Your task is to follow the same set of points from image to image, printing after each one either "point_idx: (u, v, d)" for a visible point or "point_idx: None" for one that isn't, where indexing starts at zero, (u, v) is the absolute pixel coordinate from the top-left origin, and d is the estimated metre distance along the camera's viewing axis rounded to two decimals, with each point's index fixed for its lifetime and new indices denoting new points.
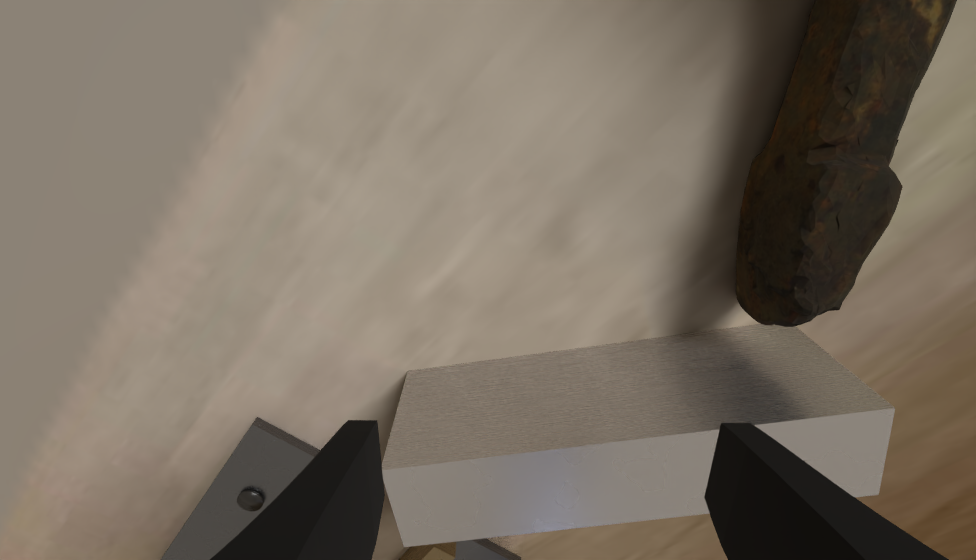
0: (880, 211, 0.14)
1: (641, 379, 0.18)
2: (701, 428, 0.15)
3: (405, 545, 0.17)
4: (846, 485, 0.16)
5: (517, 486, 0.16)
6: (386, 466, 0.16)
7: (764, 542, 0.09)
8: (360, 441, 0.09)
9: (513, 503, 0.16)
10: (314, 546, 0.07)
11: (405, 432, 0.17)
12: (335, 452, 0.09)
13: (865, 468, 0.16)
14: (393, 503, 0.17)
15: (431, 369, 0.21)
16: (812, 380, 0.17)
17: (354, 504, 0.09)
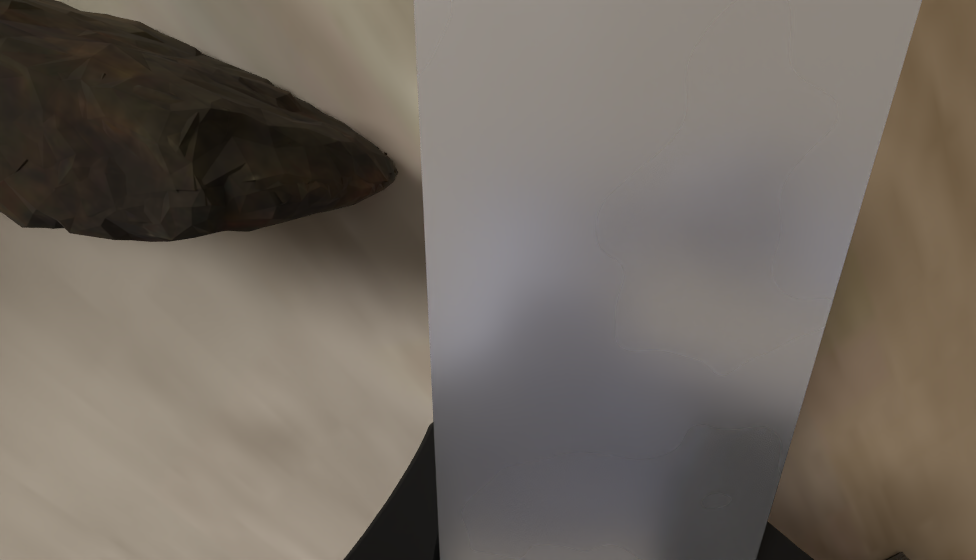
0: None
1: None
2: None
3: None
4: (798, 156, 0.04)
5: None
6: None
7: None
8: None
9: None
10: (438, 547, 0.07)
11: None
12: None
13: (732, 87, 0.04)
14: None
15: None
16: None
17: None
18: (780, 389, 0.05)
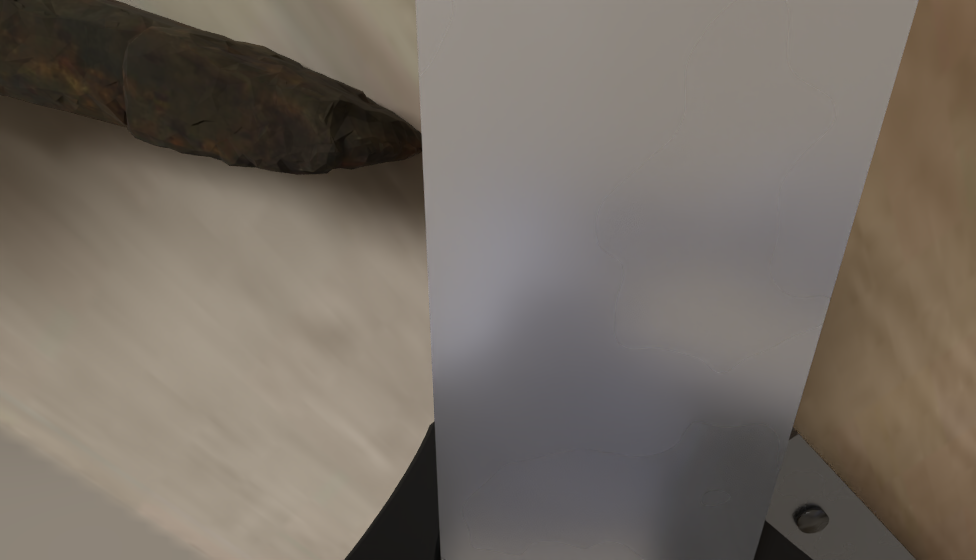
0: (180, 62, 0.10)
1: None
2: None
3: None
4: (797, 156, 0.04)
5: None
6: None
7: None
8: None
9: None
10: (439, 547, 0.07)
11: None
12: (435, 453, 0.09)
13: (729, 86, 0.04)
14: None
15: None
16: None
17: None
18: (777, 386, 0.05)
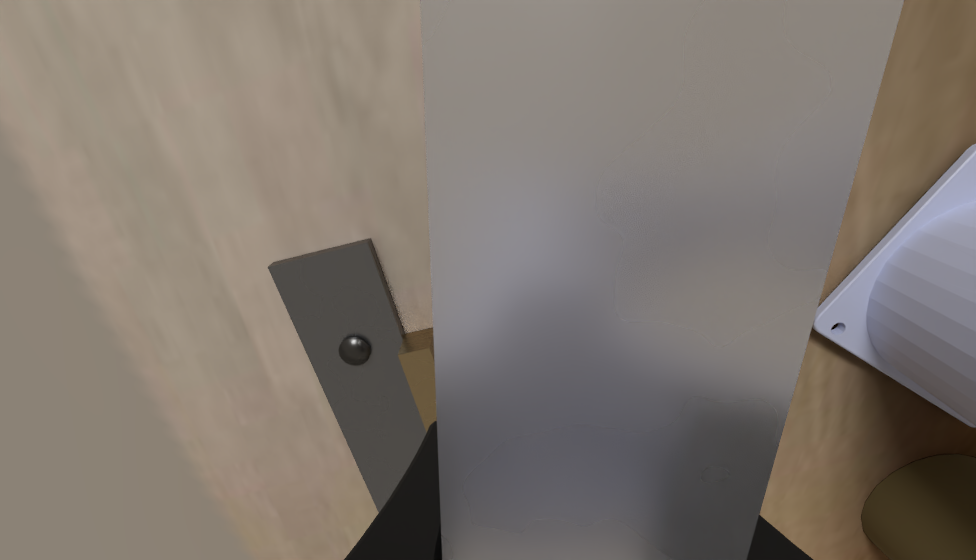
0: None
1: None
2: (442, 540, 0.06)
3: None
4: (792, 126, 0.04)
5: None
6: None
7: None
8: None
9: None
10: (439, 547, 0.07)
11: None
12: (435, 453, 0.09)
13: (728, 58, 0.04)
14: None
15: None
16: None
17: None
18: (775, 360, 0.05)
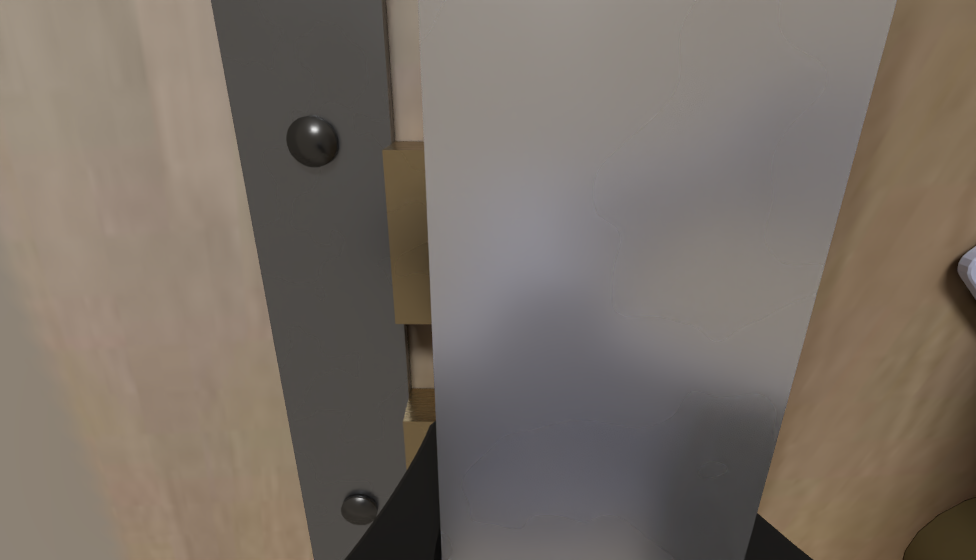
0: None
1: None
2: (442, 536, 0.06)
3: None
4: (790, 121, 0.04)
5: None
6: None
7: None
8: None
9: None
10: (439, 547, 0.07)
11: None
12: (435, 453, 0.09)
13: (724, 53, 0.04)
14: None
15: None
16: None
17: None
18: (774, 355, 0.05)
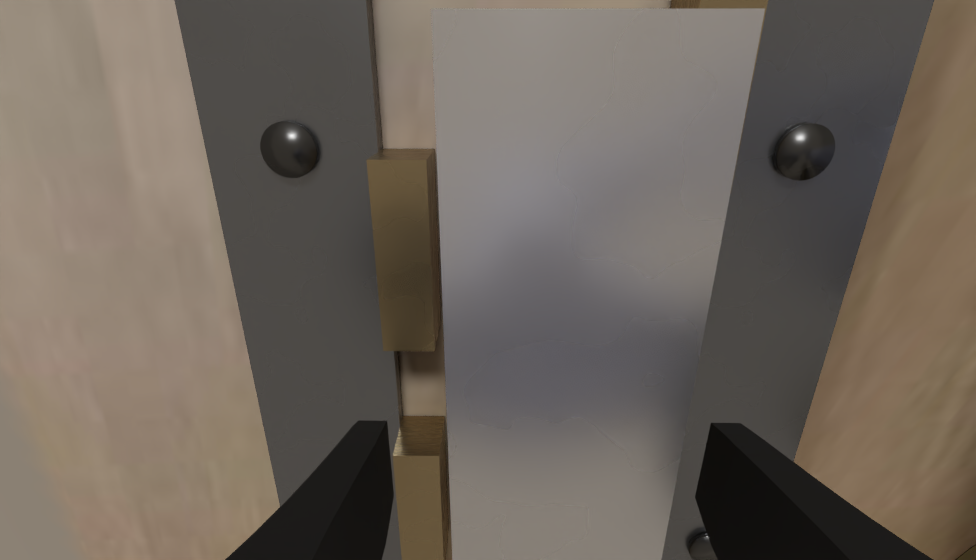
0: None
1: None
2: (448, 438, 0.07)
3: None
4: (693, 116, 0.06)
5: None
6: None
7: (752, 543, 0.09)
8: (371, 441, 0.09)
9: None
10: (328, 546, 0.07)
11: None
12: (347, 452, 0.09)
13: (643, 67, 0.05)
14: None
15: None
16: None
17: (366, 504, 0.09)
18: (692, 289, 0.06)
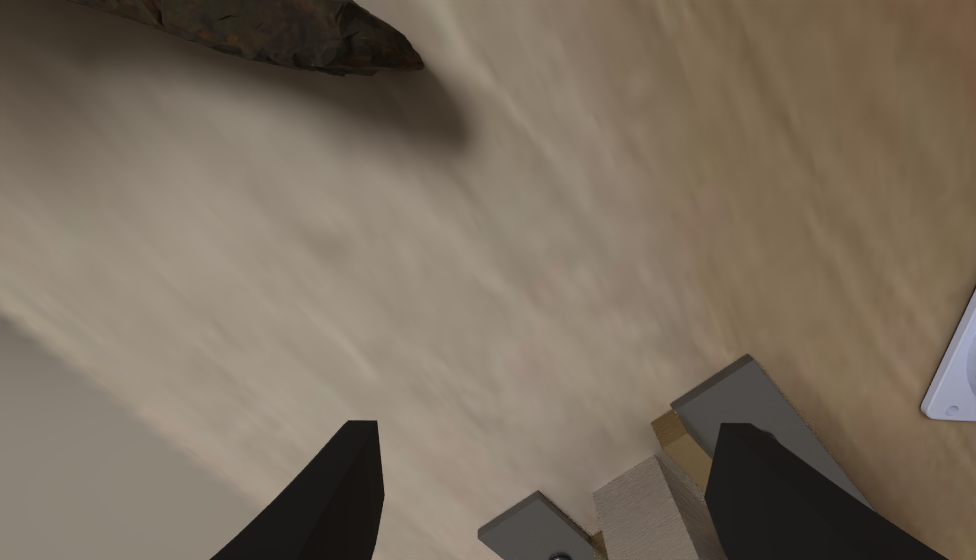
0: None
1: None
2: None
3: None
4: None
5: None
6: None
7: (764, 542, 0.09)
8: (360, 441, 0.09)
9: None
10: (314, 546, 0.07)
11: None
12: (335, 452, 0.09)
13: None
14: None
15: None
16: None
17: (354, 504, 0.09)
18: None
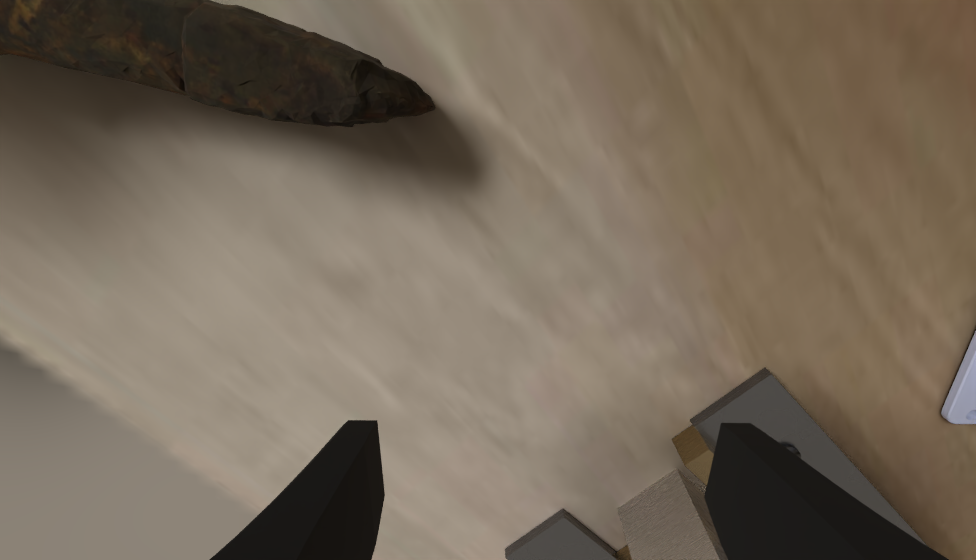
0: (229, 30, 0.12)
1: None
2: None
3: None
4: None
5: None
6: None
7: (764, 543, 0.09)
8: (360, 441, 0.09)
9: None
10: (314, 546, 0.07)
11: None
12: (335, 452, 0.09)
13: None
14: None
15: None
16: None
17: (354, 504, 0.09)
18: None
